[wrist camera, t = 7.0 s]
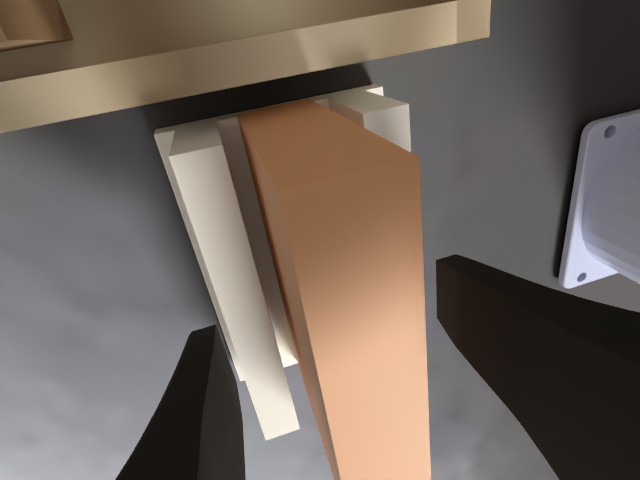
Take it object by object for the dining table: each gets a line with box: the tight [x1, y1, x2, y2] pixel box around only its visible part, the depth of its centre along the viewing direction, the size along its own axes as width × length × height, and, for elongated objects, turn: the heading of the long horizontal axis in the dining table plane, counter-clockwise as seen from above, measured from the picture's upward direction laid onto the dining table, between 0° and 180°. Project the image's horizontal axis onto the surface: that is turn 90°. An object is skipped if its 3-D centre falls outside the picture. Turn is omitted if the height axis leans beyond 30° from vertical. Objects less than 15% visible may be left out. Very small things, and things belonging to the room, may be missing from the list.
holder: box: [154, 84, 411, 440], centre depth 13 cm, size 7×10×4 cm
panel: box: [236, 99, 431, 480], centre depth 11 cm, size 2×10×7 cm, turn 9°
